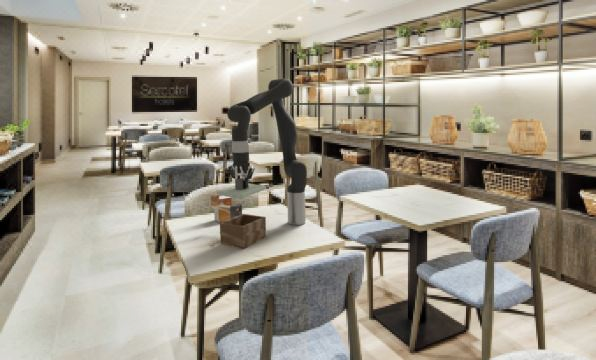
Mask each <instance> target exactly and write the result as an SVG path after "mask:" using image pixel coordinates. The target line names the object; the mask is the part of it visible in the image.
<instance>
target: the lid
mask: <svg viewBox="0 0 596 360" xmlns="http://www.w3.org/2000/svg"><path fill="white" fill-rule="evenodd" d="M265 190H267V185H262V184H253V183H248V187H247V189H243V177H240V178H239V179H236V180H235V179H234V185H231V186H229V187H226V188H223V189H219V190H216V195H219V196H226V197H232V198H234V199H235V198H237V199H243V198H247V197H249V196H252V195H255V194H257V193H260V192H262V191H265Z"/></svg>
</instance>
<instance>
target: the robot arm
mask: <svg viewBox="0 0 596 360" xmlns="http://www.w3.org/2000/svg"><path fill="white" fill-rule="evenodd" d="M267 89H268V90H266V91H262V92H260V93H257V94H255V95H252V96H251V97H249V98H248V99H246V100H244V101H240V102H238V103H235V104H233V105H231V106H230V107H229V108H228V110H227V112H226V114H227V115H226V116H227V118H228V120H229V121H231V122H234V123H235V122H236V123H237V126H236V127H233V128H232V129H231V142H232V143H231V153H232V154H231V155H232V156H231V157H232V164H231V165H229V166H227V168H228V171H229V173H230V177H231V179H233V180H234V181H235V180H236V179H239V178H243V189H247V187H248V184H249V180H251V179H252V178H253V175H254V172H255V167H254V166H253V167H252V166H251V165H250V162H249V161H250V149H249V148H250V147H249V135H248V131H249V129H250V128H249V127H250V121H251V118H252V117H251V116H252V115H254V114H256V113H258V112H259V111H261V110H263V109H264V108H266V107H268V106H270V105H272V107H273V113H274V116H275V120H276V126H277V131H278V136H279V141H280V147H281V151H282V158H283V169H284V174H285V175H286V176H287V177H289V178H291V181H290V182H291V183H290V184H288V186H287V195H286V196H287V224H289V225H291V226H300V225H304V224H305V223H306V221H307V220H306V186H307V182H308V181H307V179H308V178H307V177H308V170H307V165H306V164H305V163H304V162H302V161H299V160H297V155H296V144H297V140H298V132H297V131H298V130H297V125H296V122H295V120H294V118H293V116H291V114H290V113H289V112H288V109H287V108H286V106H285V104H284V103H285V102H284V99H285V98H288V97H290V96H291V95H292V94H293V91H294V85H293V83H292V81H291V80H290V79H288V78H277V79H272V80H270V81H269V83H268V86H267Z"/></svg>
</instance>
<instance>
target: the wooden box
mask: <svg viewBox="0 0 596 360" xmlns="http://www.w3.org/2000/svg"><path fill="white" fill-rule="evenodd" d="M236 208H239V211H236ZM266 218H267V217H266V216H261V215H254V214H250V213H249V214H248V213H243V204H240V203H236V204H234V205H233V204H232V206H230V219H229V220H227V221H224V222H219V236H220V237H219V238H220V245H223V246H226V247H233V248H237V249H243V250H244V249H246V248H249V247H250V246H252V245H254V244H256V243H258V242H259V241H261V240H263V239H266V238H267V224H266V223H267V220H266Z"/></svg>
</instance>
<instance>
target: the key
mask: <svg viewBox="0 0 596 360" xmlns="http://www.w3.org/2000/svg"><path fill="white" fill-rule="evenodd" d="M219 196H220V195H217V193H215V194H211V195H210V209H213V210H214V209H219V210H226V211H230V206H225V205H220V202H219ZM236 211H239V208H236Z"/></svg>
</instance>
